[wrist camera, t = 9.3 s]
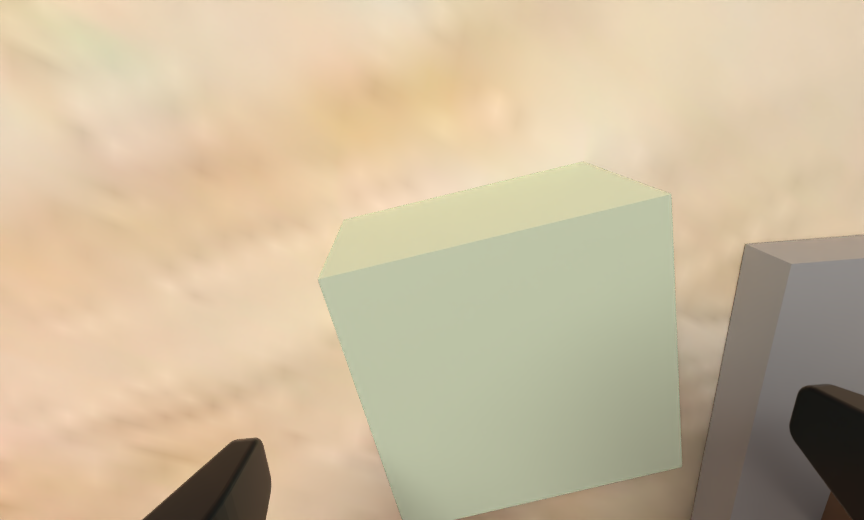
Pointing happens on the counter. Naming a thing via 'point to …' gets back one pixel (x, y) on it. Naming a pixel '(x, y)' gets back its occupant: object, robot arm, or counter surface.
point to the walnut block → (834, 510)
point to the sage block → (512, 339)
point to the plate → (781, 375)
